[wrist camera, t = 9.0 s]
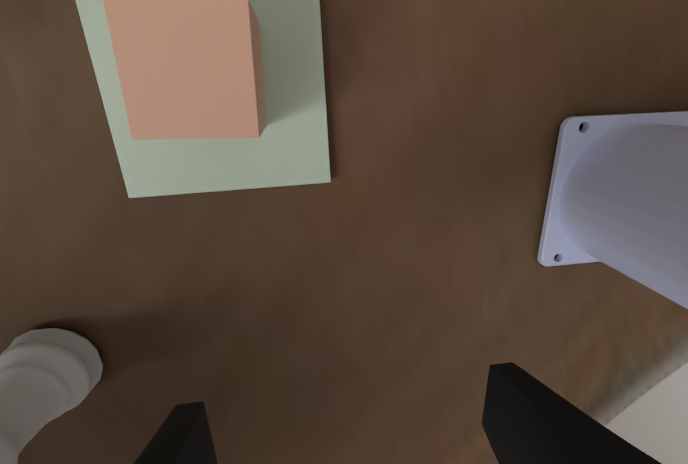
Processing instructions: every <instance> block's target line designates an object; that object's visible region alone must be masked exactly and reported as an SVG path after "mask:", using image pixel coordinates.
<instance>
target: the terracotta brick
mask: <svg viewBox="0 0 688 464" xmlns="http://www.w3.org/2000/svg"><path fill="white" fill-rule="evenodd" d="M103 2H104V7H105V12H106V17H107V22H108V26H109V31H110V36H111V41H112V46H113V50H114V55H115V60H116V65H117V70H118V75H119V79H120V84H121V89H122V94H123V99H124V103H125V108H126V113H127V118H128V123H129V128H130V132H131V137H132V140H143V139H209V138H259V137H260V136H261V134H262V133H263V131H264V129H265V128H266V126H267V123H266V110H265V96H264V83H263V69H262V56H261V42H260V29H259V20H258V18H257V16H256V14H255V12H254V10H253V8H252V6H251V4H250V2H249V0H103Z"/></svg>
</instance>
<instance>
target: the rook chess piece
mask: <svg viewBox="0 0 688 464" xmlns="http://www.w3.org/2000/svg"><path fill="white" fill-rule="evenodd" d="M102 369H103V365H102V362H101V359H100V357H99V354H98V351H97V348H96V347H95V346H94V345H93V344H92V343H91V342H90V341H89V340H88V339H87V338H85V337H83V336H81V335H79V334H78V333H76V332H74V331H70V330H65V329H59V328H47V329H38V330H30V331H28V332H26V333H24V334H22V335H20V336H18V337H16V338H15V339H14V340H13V341H12V343H11V344H10V345H9V347H8V348H7V349H6V350H4V351H3V352H2V353H1V354H0V464H18V455H19V454H20V452H21V451H22V450H23V448H24V447H25V446H26V445H27V443H28V442H29V441H30V440H31V439H32V438H33V437H34V436H35V435H36V434H37V433H38V432H39V431H40V430H41V429H42V428H43V427H44V426H45V425H46V424H47V423H48V422H49V421H51V420H53V419H55V418H57V417H59V416H61V415H62V414H63V413H64V412H66V411H68V410H71V409H73V408H75V407H76V406H78V405H79V404H80V403H81V402H82V401H83V400H84V399H85V398H86V396H87V395H88V394H89V393H90V392H91V390H92V389H93V388H94V386H95V385H96V384H97V383H98V382H99V381H100V379H101V374H102Z"/></svg>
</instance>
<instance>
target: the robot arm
mask: <svg viewBox="0 0 688 464" xmlns="http://www.w3.org/2000/svg"><path fill="white" fill-rule="evenodd" d="M581 123H583V128H582V130H580V131H579V126H580V124H581ZM557 254H558V255H557ZM555 255H557V257H556V258H555V259H554V257H555ZM537 259H538V262H539V263H541V264H542V265H544V266H558V265H568V264H578V263H589V262H599V261H601V262H603V263H605V264H607V265H608V266H610V267H612V268H614V269H616V270H617V271H619V272H621V273H623V274H625V275H626V276H628V277H630V278H632V279H634V280H636V281H637V282H639V283H641V284H643V285H645V286H646V287H648V288H650V289H652V290H654V291H656V292H657V293H659V294H661V295H663V296H665V297H666V298H668V299H670V300H672V301H674V302H676V303H677V304H679V305H681V306H683V307H685V308H686V309H688V111H677V112H656V113H635V114H615V115H594V116H573V117H568V118H566V119H565V120H564V121H563V122H562V124H561V126H560V131H559V137H558V142H557V148H556V154H555V159H554V165H553V171H552V177H551V182H550V188H549V194H548V199H547V205H546V211H545V217H544V222H543V228H542V234H541V239H540V245H539V251H538V257H537ZM482 425H483V428H484V430H485V433H486V435H487V437H488V440H489V442H490V444H491V447H492V449H493V451H494V453H495V456H496V458H497V460H498V462H499V464H661V463H660V462H658V461H657V460H655V459H653V458H652V457H650V456H649V455H647V454H645V453H644V452H642V451H641V450H639V449H637V448H636V447H634V446H633V445H631V444H630V443H628V442H627V441H625V440H624V439H622V438H620V437H619V436H617V435H616V434H615V433H613V432H611V431H610V430H609V429H607V428H606V427H604V426H603V425H601V424H600V423H598V422H597V421H595V420H594V419H592V418H591V417H589V416H588V415H587V414H585V413H584V412H582V411H581V410H579V409H578V408H576V407H575V406H574V405H572V404H571V403H569V402H568V401H567V400H565V399H564V398H562V397H561V396H559V395H558V394H557V393H555V392H554V391H552V390H551V389H550V388H548V387H547V386H545V385H544V384H543V383H541V382H540V381H538V380H537V379H536V378H534V377H533V376H531V375H530V374H528V373H527V372H526V371H524V370H523V369H521V368H520V367H518V366H517V365H515V364H514V363H512V362H511V363H503V364H495V365H490V369H489V376H488V383H487V390H486V397H485V404H484V412H483V419H482ZM134 464H217V459H216V455H215V450H214V446H213V441H212V437H211V433H210V428H209V424H208V419H207V415H206V411H205V406H204V402H196V403H188V404H180V405H176V406H175V407H174V409H173V410H172V411H171V413H170V414H169V415H168V417H167V418H166V419H165V421H164V422H163V424H162V425H161V426H160V428H159V429H158V431H157V432H156V433H155V435H154V436H153V438H152V439H151V440H150V442H149V443H148V445H147V446H146V447H145V449H144V450H143V451H142V453H141V454H140V455H139V457H138V458H137V459H136V461H135V462H134Z"/></svg>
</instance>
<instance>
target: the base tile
mask: <svg viewBox="0 0 688 464" xmlns="http://www.w3.org/2000/svg"><path fill="white" fill-rule="evenodd" d="M249 2H250V4H251V6H252V8H253V10H254V12H255V14H256V16H257V18H258V20H259V29H260V42H261V56H262V69H263V83H264V96H265V110H266V123H267V126H266V128H265V129H264V131H263V133H262V134H261V136H260V137H259V138H209V139H143V140H132V137H131V132H130V128H129V123H128V118H127V113H126V108H125V103H124V99H123V94H122V89H121V84H120V79H119V75H118V70H117V65H116V60H115V55H114V50H113V46H112V41H111V36H110V31H109V26H108V22H107V17H106V12H105V7H104V2H103V0H76V4H77V8H78V12H79V15H80V19H81V23H82V26H83V30H84V34H85V38H86V41H87V45H88V49H89V52H90V56H91V60H92V63H93V67H94V71H95V75H96V78H97V82H98V86H99V89H100V93H101V97H102V101H103V104H104V108H105V112H106V115H107V119H108V123H109V126H110V130H111V134H112V138H113V141H114V145H115V149H116V152H117V156H118V160H119V164H120V167H121V171H122V175H123V178H124V182H125V186H126V189H127V193H128V197H129V198H137V197H149V196H162V195H175V194H188V193H201V192H214V191H227V190H239V189H252V188H265V187H278V186H291V185H304V184H316V183H329V182H331V179H330V163H329V147H328V130H327V114H326V98H325V82H324V66H323V50H322V33H321V17H320V1H319V0H249Z"/></svg>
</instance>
